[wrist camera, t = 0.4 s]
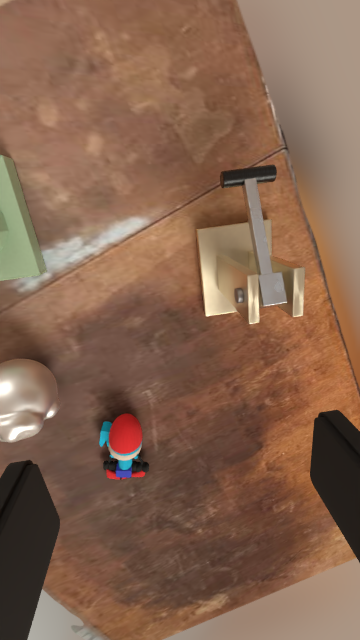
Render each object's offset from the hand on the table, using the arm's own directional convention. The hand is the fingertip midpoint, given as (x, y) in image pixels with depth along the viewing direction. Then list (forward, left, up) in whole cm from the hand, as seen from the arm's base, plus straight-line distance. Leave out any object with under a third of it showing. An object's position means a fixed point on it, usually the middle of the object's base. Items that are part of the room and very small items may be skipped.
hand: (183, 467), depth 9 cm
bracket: (0, +10, -28) cm, 29 cm away
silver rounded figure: (+11, -19, -28) cm, 36 cm away
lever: (-4, +10, -20) cm, 23 cm away
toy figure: (+25, -9, -28) cm, 39 cm away
